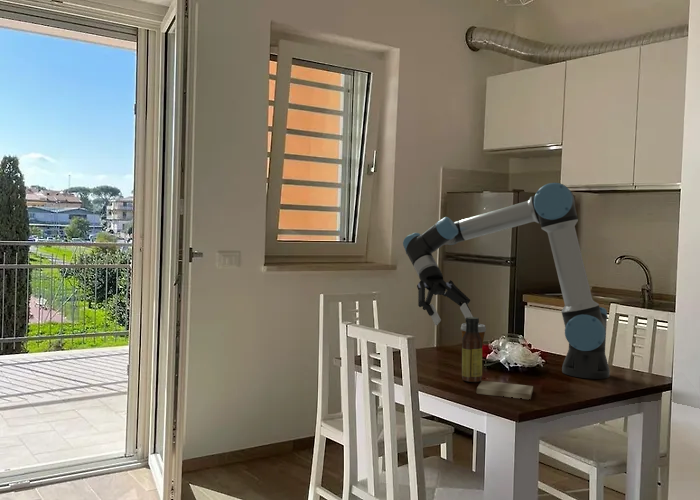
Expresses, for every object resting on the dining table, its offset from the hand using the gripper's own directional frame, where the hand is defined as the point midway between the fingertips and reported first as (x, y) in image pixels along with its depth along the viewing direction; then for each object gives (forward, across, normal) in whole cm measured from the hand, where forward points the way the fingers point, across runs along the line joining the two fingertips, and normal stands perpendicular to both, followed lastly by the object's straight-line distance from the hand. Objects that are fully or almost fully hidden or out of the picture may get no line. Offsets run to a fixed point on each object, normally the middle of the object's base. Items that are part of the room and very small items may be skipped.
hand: (454, 322), depth 215 cm
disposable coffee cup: (-4, -28, -28) cm, 40 cm away
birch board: (+29, 0, +5) cm, 29 cm away
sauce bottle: (+18, -1, -6) cm, 19 cm away
